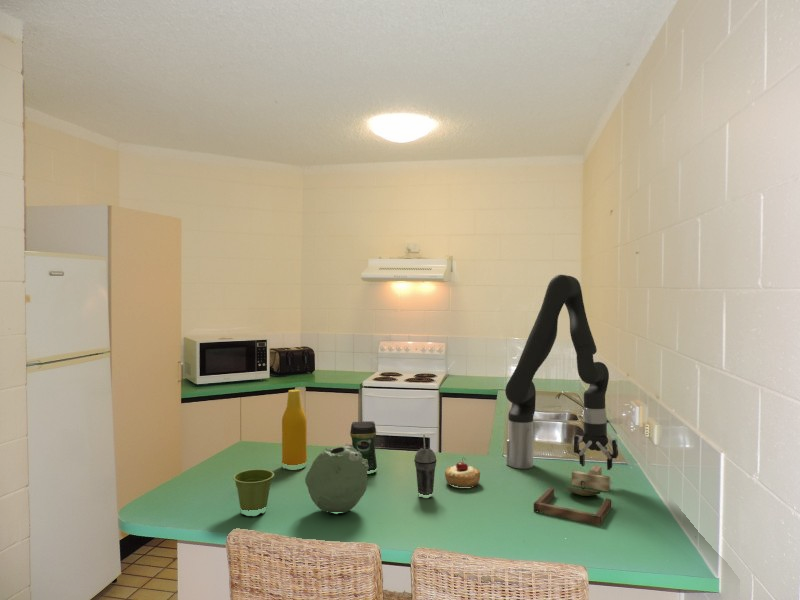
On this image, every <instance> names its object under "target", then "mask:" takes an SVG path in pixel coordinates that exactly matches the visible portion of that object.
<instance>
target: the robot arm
mask: <svg viewBox="0 0 800 600" xmlns="http://www.w3.org/2000/svg"><path fill="white" fill-rule="evenodd" d="M564 305H565V307H566V309H567V312H568V313H567V314H568V318H569V333H570V338H571V342H572V344H573V347H574V351H575V355H576V367H577V368H576V369H577V374H578V376H579V378H580V380H581V381H582V382H583V383H584V384H588V385H589V387H588V388H587V390H585V391H584V393H583V411H582V414H583V435H579V434H576V435H575V436H574V437H573V453H574V454H577V455H578V456H579V464H580V465H581V467H585V465H586V459H585V456H586V455H585V453H586V451H587V450H590V451H597V452H602V453H603V454H604V455H605V457H607V458H606V470H607V471H611V469H612V468H613V459H617V458H618V457H619V447H618V439H616V438H613V439H609V438H608V428H607V427H608V425H607V424H608V423H607V420H608V417H607V410H606V393H607V390H608V384H609V380H610V375H609V374H610V373H609V369H608V367H607V365H606V364H605V363H604V362H602V361H595V360H594V355H595V354H596V353H598V352H597V345H596V343H595V339H594V337H593V334H592V330H591V328H590V325H589V320H588V318H587V313H586V308H585V304H584V298H583V291H582V287H581V283H580V281H579V280H578V279H577V278H576V277H574V276H572V275H568V274H567V275H566V274H558V275H555V276H553V277H552V278H551V279H550V280H549V282H548V285H547V288H546V291H545V294H544V297H543V300H542V304H541V308H540V310H539V311H538V313H537V316H536V319H535V321H534V324H533V326H532V327H531V330H530V332H529V334H528V337H527V339H526V342H525V345H524V347H523V350H522V352H521V355H520V357H519V360H518V362H517V365H516V367H515V369H514V371H513V373H512V374H511V376H510V378H509V380H508V381H507V383H506V385H505V390H504V391H505V397H506V399H507V400H508V401H509V402H510V403H511V404H512V405H511V407H510V410H509V412H508V415H507V417H508V423H507V424H508V427H507V430H508V432H507V433H508V438H507V440H506V465H507V466H510V467H511V468H514V469H522V470H526V469H531V468H533V467H534V416H535V412H536V400H537V399H536V398H537V396H536V395H537V394H536V393H537V392H536V386H535V383H534V381H533V379H534V376H535V375H536V373H537V371H538V370H539V368H540V367H541V366H542V365H543V363H544V362H545V361H546V359H547V357H548V356H549V355H550V352H551V350H552V349H553V346H554V344H555V342H556V339H557V336H558V325H559V323H558V322H559V321H558V320H559V315H560V313H561V311H562V308H563V306H564ZM582 441H583V443H584V444H585V445H584V446H583V447H582V449H580V442H582ZM608 444H609V445H610V446H611V448H612V452H611V451H610V450H609V448H608V446H607V445H608Z"/></svg>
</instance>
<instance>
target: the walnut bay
mask: <svg viewBox="0 0 800 600" xmlns="http://www.w3.org/2000/svg"><path fill="white" fill-rule="evenodd" d="M554 497H555V488H554V487H549V488H547V489H546V490H545V492H544V493H542V494H541V495H540V496H539V497H538V498H537V499H536V500H535V501H534V502H533V512H534V511H538V512H542V513H541V514H543V513H546V514H545V515H547V514H550V515H549V516H552V515H553V516H552V517H557V518H562V519H566V520H571V521H576V522H581V523H585V524H589V525H593V526H599V527H600V526H601V525H602V523H603V521H604V520H605V519H606V517H607V515H608V513H610V511H611V509H612V499H611V498H606V497H605V499H604V501H602V502H603V503H602V504H601V505H600V506H599V508H598V509H597V511H596V513H593V512H588V511H583V510H578V509H574V508H567V507H564V506H558V505H553V504H549V502H550V501H551V500H552V499H553V498H554ZM538 512H537V513H538Z"/></svg>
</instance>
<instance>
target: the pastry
mask: <svg viewBox="0 0 800 600" xmlns="http://www.w3.org/2000/svg"><path fill="white" fill-rule="evenodd" d="M464 460H465V461H467V459H466V458H464V457H462V462H460V461H459V462H457V463H456V464H455V465H451V466H448V467H447V468H446V469H444V477H445V481H446V483H447V482H448V483H449V484H451V485H454V486H458V487H472V486H475V485H476V486H477V485H478V484H479V481H480V478H481V471H480V470H479V469H478V468H476V467H475V466H471V465H469V466H468V463H465V462H464ZM448 483H447V484H448ZM449 484H448V485H449ZM476 486H475V487H476Z"/></svg>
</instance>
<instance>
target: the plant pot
mask: <svg viewBox="0 0 800 600" xmlns="http://www.w3.org/2000/svg"><path fill="white" fill-rule="evenodd" d="M274 477H275V473H274V472H273V471H272V470H269V469H263V468H262V469H261V468H257V469H256V468H255V469H252V468H251V469H245V470H242V471H239V472H237V473H235V474H234V475H233V477H232V478H233V480H234V481H235V486H236V489H237V495H238V503H239V509H240V508H241V509H242V510H248V511H249V510H258V509H262V508H264V507H266V506H267V507H268V502H269V501H268V500H269V495H270V489H271V484H272V482H273V481H272V480H273V478H274ZM241 509H240V510H241Z"/></svg>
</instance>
